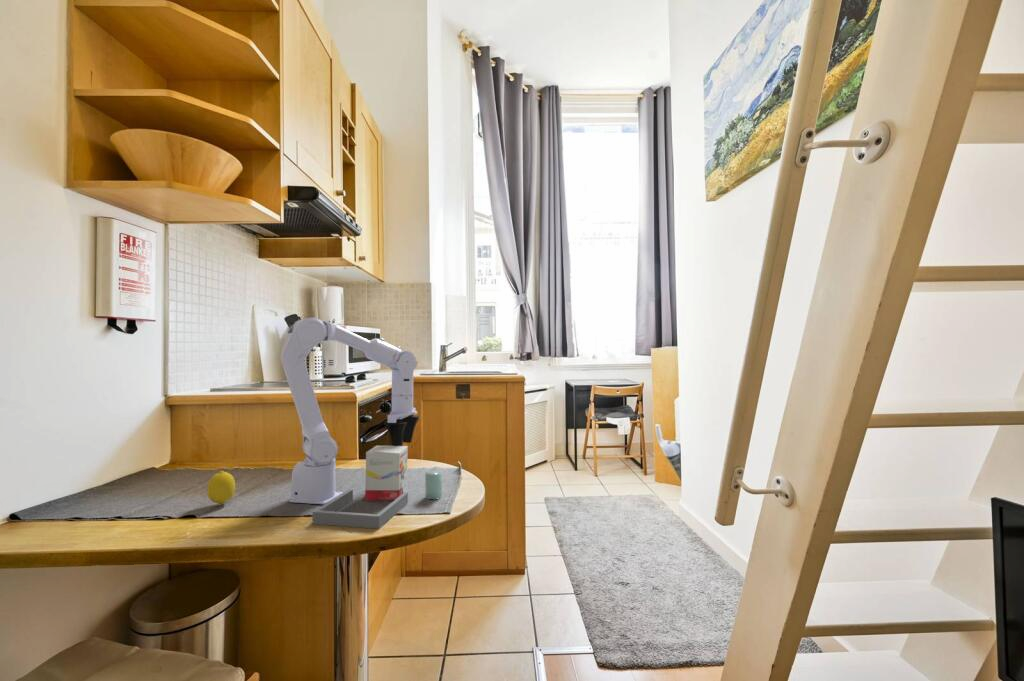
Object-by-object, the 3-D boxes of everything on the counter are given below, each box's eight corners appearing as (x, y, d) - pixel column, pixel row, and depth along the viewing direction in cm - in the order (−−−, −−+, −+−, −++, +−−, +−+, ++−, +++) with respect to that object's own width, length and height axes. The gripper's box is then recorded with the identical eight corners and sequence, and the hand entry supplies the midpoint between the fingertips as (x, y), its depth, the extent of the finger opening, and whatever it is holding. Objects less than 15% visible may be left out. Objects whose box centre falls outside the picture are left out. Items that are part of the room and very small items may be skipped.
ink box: (399, 501, 111) (399, 452, 111) (364, 500, 111) (364, 451, 111) (408, 490, 120) (408, 444, 120) (375, 489, 120) (375, 444, 120)
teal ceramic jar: (422, 499, 112) (423, 474, 113) (428, 494, 116) (428, 470, 116) (438, 500, 112) (438, 475, 112) (443, 495, 116) (443, 471, 116)
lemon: (235, 506, 107) (236, 471, 107) (207, 511, 104) (207, 475, 104) (234, 499, 112) (234, 466, 112) (207, 503, 109) (207, 470, 109)
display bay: (312, 523, 97) (312, 511, 97) (348, 499, 112) (349, 489, 112) (379, 528, 95) (379, 516, 95) (407, 503, 109) (407, 493, 109)
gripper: (406, 398, 117) (405, 451, 117) (425, 392, 132) (425, 440, 132) (380, 397, 118) (379, 450, 118) (402, 392, 133) (402, 439, 133)
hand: (402, 445), depth 125 cm, fingers open, 6 cm apart
